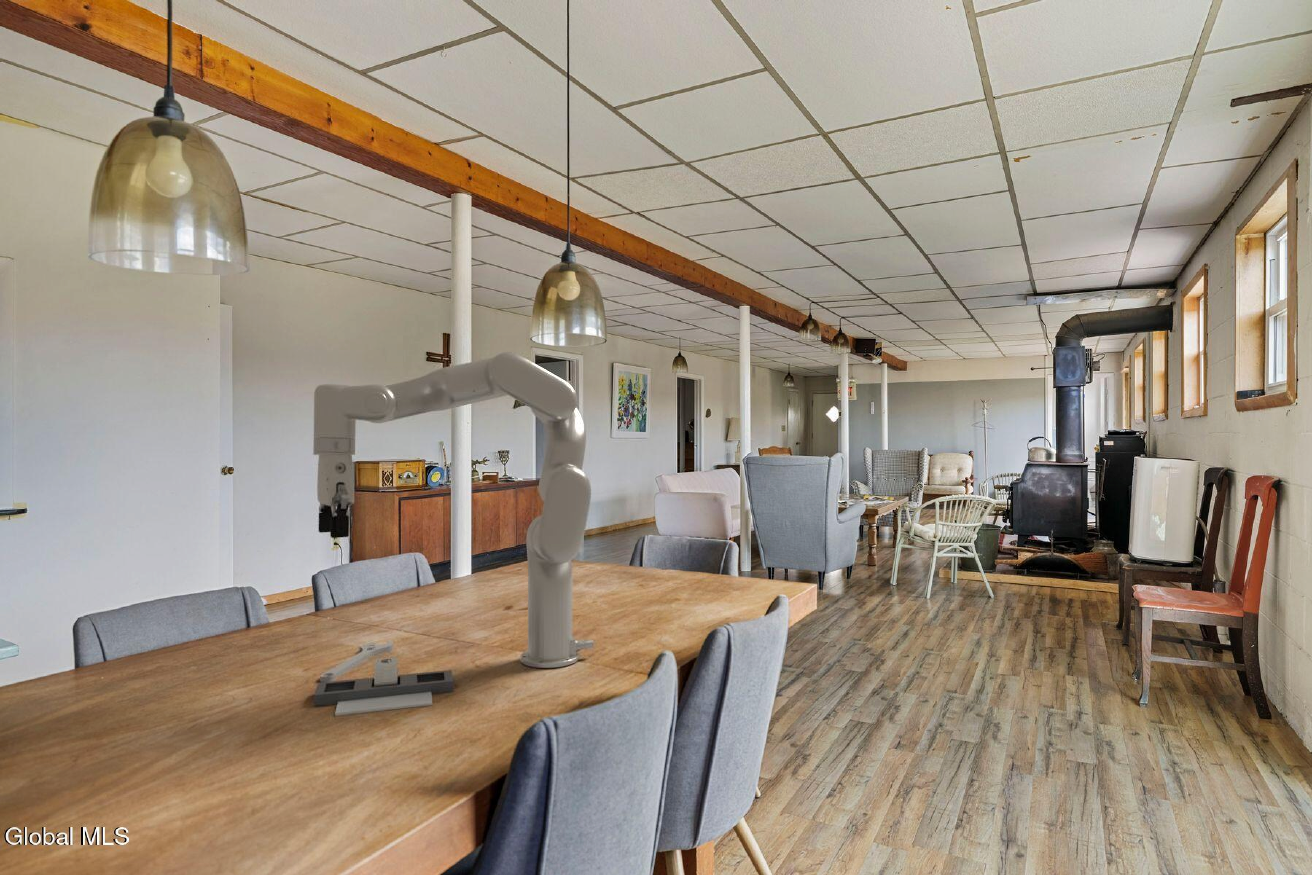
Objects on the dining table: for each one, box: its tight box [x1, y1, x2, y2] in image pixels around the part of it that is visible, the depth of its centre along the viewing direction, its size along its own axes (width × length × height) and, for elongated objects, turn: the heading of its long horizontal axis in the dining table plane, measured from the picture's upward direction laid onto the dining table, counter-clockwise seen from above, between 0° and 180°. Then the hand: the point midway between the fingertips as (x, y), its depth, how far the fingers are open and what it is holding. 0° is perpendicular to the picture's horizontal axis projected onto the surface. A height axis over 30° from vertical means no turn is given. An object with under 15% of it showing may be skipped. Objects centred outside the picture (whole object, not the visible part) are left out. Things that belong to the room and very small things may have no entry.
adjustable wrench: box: [319, 640, 395, 683], centre depth 154 cm, size 25×6×2 cm, turn 170°
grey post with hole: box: [373, 656, 399, 687], centre depth 136 cm, size 4×4×6 cm
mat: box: [334, 692, 433, 717], centre depth 129 cm, size 16×6×1 cm, turn 109°
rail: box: [313, 669, 454, 707], centre depth 136 cm, size 24×7×2 cm, turn 109°
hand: (333, 534), depth 142 cm, fingers open, 9 cm apart
